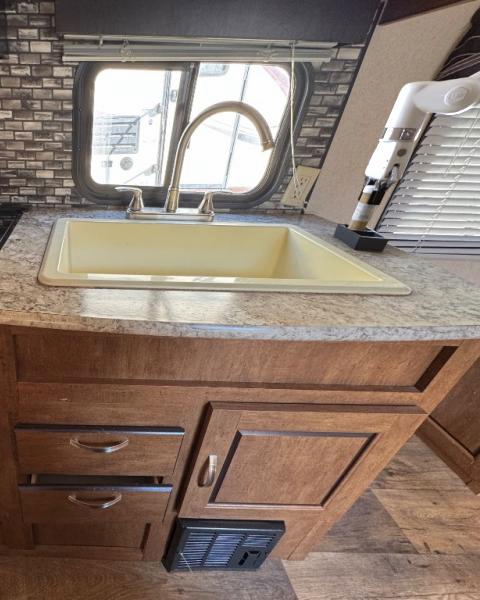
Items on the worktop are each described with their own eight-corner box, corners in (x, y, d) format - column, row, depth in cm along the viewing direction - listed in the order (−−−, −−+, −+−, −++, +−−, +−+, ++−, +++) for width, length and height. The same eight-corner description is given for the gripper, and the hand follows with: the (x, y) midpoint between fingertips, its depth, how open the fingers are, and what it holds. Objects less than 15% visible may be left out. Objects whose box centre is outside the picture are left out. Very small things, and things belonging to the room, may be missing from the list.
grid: (358, 237, 104) (364, 225, 102) (382, 252, 92) (389, 238, 90) (333, 235, 105) (338, 223, 103) (353, 249, 94) (359, 236, 91)
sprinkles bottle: (365, 230, 100) (386, 186, 93) (363, 233, 97) (384, 188, 90) (347, 227, 103) (366, 184, 96) (345, 230, 100) (364, 186, 93)
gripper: (436, 137, 79) (399, 210, 88) (396, 134, 93) (367, 198, 102) (401, 136, 80) (368, 208, 89) (367, 134, 95) (341, 196, 104)
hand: (368, 202), depth 96 cm, fingers closed on sprinkles bottle, 4 cm apart
